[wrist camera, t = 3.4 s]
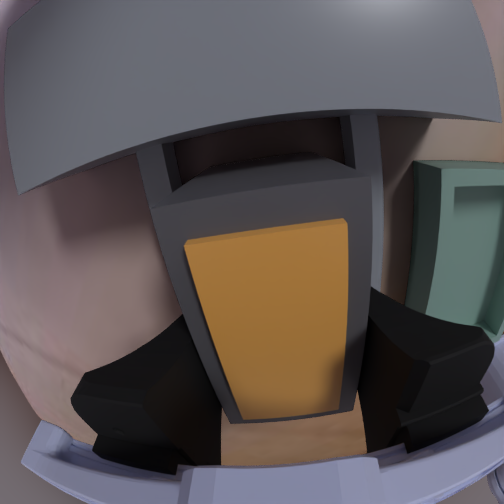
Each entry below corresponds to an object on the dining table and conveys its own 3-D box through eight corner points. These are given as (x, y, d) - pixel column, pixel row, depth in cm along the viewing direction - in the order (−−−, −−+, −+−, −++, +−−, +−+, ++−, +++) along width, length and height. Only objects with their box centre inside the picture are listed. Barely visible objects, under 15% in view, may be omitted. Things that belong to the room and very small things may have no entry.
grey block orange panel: (323, 310, 15) (352, 422, 8) (244, 320, 15) (232, 435, 8) (311, 151, 11) (376, 178, 5) (210, 166, 12) (144, 213, 5)
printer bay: (427, 283, 14) (470, 335, 9) (137, 321, 16) (105, 379, 11) (399, -14, 7) (444, -50, 2) (68, 43, 8) (8, 28, 4)
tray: (484, 321, 15) (499, 340, 13) (394, 351, 16) (406, 377, 14) (514, 163, 10) (539, 172, 8) (413, 160, 11) (441, 168, 9)
